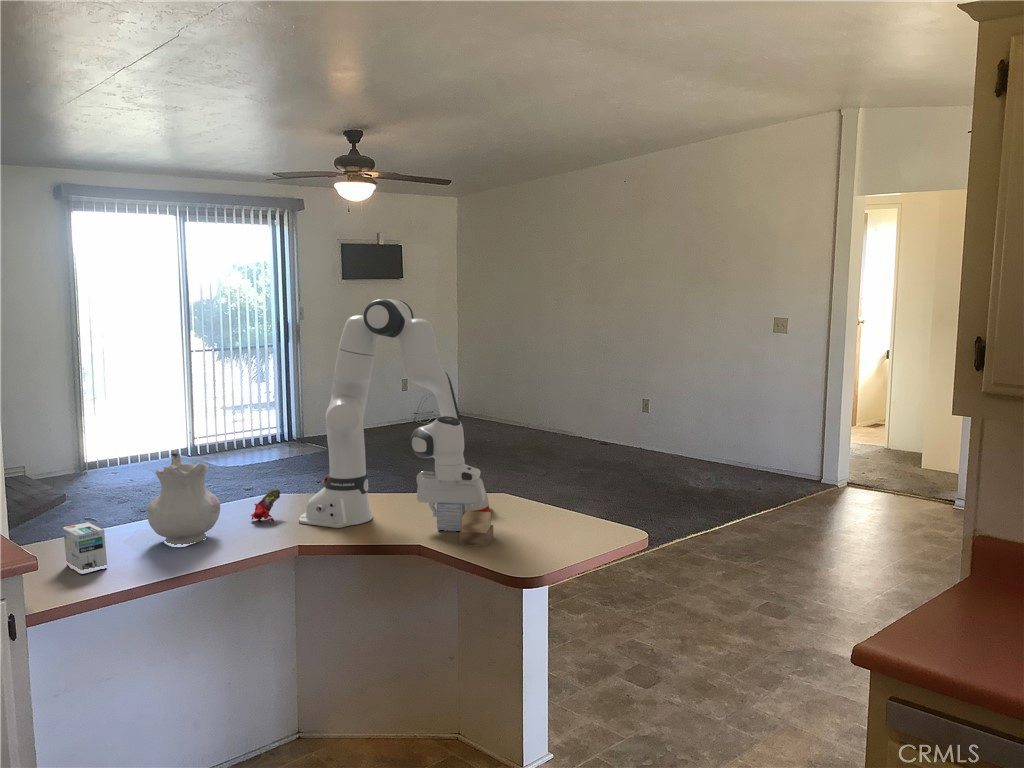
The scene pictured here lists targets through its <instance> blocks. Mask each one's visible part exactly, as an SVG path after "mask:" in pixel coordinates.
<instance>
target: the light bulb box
mask: <svg viewBox="0 0 1024 768" xmlns="http://www.w3.org/2000/svg"><path fill="white" fill-rule="evenodd" d="M62 530H63V540H64V541H63V542H64V552H65V562H66V561H67V562H68V563H70V564H71V565H73V566H75V567H77V568H78V569H80V570H84V569H89V568H95V567H100V566H104V565H107V566H108V558H107V549H106V548H107V547H106V537H105V536H106V535H105V529H103V528H101V527H99V526H96V525H95V524H93V523H91V522H88V521H87V522H83V523H77V524H73V525H68V526H64V527H62Z"/></svg>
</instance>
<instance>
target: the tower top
mask: <svg viewBox="0 0 1024 768" xmlns="http://www.w3.org/2000/svg"><path fill="white" fill-rule="evenodd" d="M491 515H492V513H491V511H488V512H478V511H467V512H466V513H465V514H464V516H463V517H462V518H461V521H462V532H470V533H487V531H488V529H489V528H490V526H491V525H492V516H491Z"/></svg>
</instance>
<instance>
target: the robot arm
mask: <svg viewBox="0 0 1024 768" xmlns="http://www.w3.org/2000/svg"><path fill="white" fill-rule="evenodd" d="M363 312H364V313H363V314H362V315H360V314H359V315H353V316H350V317H348V319H346V322H345V324H344V327H343V330H342V332H341V336H340V339H339V345H338V349H337V355H336V361H335V366H334V367H335V368H334V373H333V380H332V387H331V395H330V401H329V404H328V407H327V409H326V411H325V417H324V418H325V429H326V438H327V439H326V440H327V446H328V447H327V448H328V459H329V460H328V465H329V473H328V474H327V475H326V476H324V478H323V479H322V480H321V481H322V484H324V487H322V489H321V490H319V491H318V492H316V493H315V494H314V495H313V496H312V497H311V498H309V500H308V501H307V505H306V509H305V510H306V511H305V512H304V513H302V514H301V515H300V516H299V518H298V523H299V524H302V525H303V524H304V525H312V526H319V527H327V528H328V527H329V528H334V529H335V528H336V529H340V528H345V527H349V526H354V525H360V524H365V523H367V522H369V521H371V520H373V518H374V515H373V513H372V510H371V506H370V503H369V502H370V501H369V495H368V491H369V479H368V473H367V470H366V469H367V466H366V464H367V463H366V444H365V432H364V417H365V411H366V409H367V408H366V407H367V401H368V395H369V391H370V390H369V389H370V384H371V379H372V372H373V366H374V360H375V356H376V350H377V345H378V341H379V340H380V338H381V337H386V338H391V339H393V338H395V339H397V341H398V343H399V347H400V355H401V364H402V365H401V366H402V370H403V374H404V376H405V377H406V378H407V379H408V380H409V381H410V382H411V383H413V384H414V385H416V386H419V387H422V388H425V389H427V390H428V391H430V392H432V393H433V395H434V397H435V398H436V403H437V406H438V410H439V415H440V416H439V417H437V418H436V419H435V420H434V421H432V422H431V423H428V424H427V425H423V426H419V427H418V428H415V429H414V430H413V432H412V434H411V437H410V447H411V449H412V451H413V453H414V454H415V455H416V456H417V457H418V458H421V459H429V458H434V471H433V470H432V471H431V470H429V471H426V470H423V471H421V472H419V473H418V474H417V475H416V484H417V488H416V489H417V490H416V500H417V501H418V502H419V503H428V506H429V509H430V511H432V517H433V518H437V507H436V506H435V505H436V504H437V503H454V504H467V508H468V507H469V508H468V510H467V511H470V510H471V508H472V507H473V504H481V503H483V501H484V500H485V491H486V490H485V491H484V488H485V485H484V481H483V479H482V478H481V477H480V476H481V470H480V469H479V468H477V467H473V466H471V465H470V466H469V464H466V463H465V462H466V461H465V460H466V459H465V457H464V451H465V445H466V442H467V432H466V430H465V426H464V424H463V422H462V419H461V416H460V412H459V408H458V404H457V401H456V396H455V393H454V388H453V384H452V381H451V378H450V376H449V374H448V372H446V371H445V370H444V368H443V367H442V364H441V361H440V356H439V351H438V349H439V348H438V344H437V338H436V335H435V330H434V329H433V325H432V323H431V322H429V321H428V320H426V319H424V318H415V317H414V311H413V310H412V308H411V306H410V305H409V304H407V303H406V302H405V301H403V300H401V299H400V300H398V299H395V298H378V299H375V300H373V301H371V302H370V303H369V304H368V305H367V306H366V307H365V308H364V311H363ZM467 511H465V512H464V513H463V515H464V514H465V513H466V512H467Z"/></svg>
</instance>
